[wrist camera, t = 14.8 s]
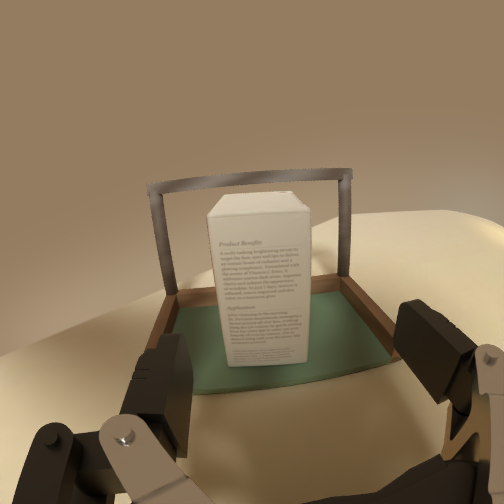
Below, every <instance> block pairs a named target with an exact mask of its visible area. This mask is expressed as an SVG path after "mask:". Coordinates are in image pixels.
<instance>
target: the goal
mask: <svg viewBox="0 0 504 504" xmlns="http://www.w3.org/2000/svg"><path fill="white" fill-rule="evenodd" d="M351 179H353V176H352V169H351V168H324V169H322V168H320V169H290V170H272V171H257V172H243V173H232V174H221V175H212V176H203V177H194V178H186V179H178V180H171V181H164V182H157V183H151V184H147V185H146V186H147V194H148V196H149V199H150V206H151V213H152V220H153V227H154V233H155V239H156V245H157V250H158V255H159V261H160V266H161V271H162V276H163V281H164V286H165V290H166V297H165V300H164V302H163V305H162V307H161V310H160V312H159V315H158V317H157V320H156V322H155V325H154V327H153V330H152V332H151V335H150V338H149V340H148V343H147V346H146V348H145V351H146V350H147V349H150V348H156V346H157V343H158V340H159V337H160V335H161V334H169V333H183V335H184V337H185V341H186V345H187V349H188V353H189V357H190V360H191V364H192V368H193V377H194V383H193V393H192V394H215V393H230V392H241V391H252V390H261V389H269V388H276V387H283V386H290V385H296V384H302V383H308V382H314V381H319V380H324V379H329V378H334V377H338V376H343V375H347V374H351V373H355V372H359V371H363V370H367V369H371V368H375V367H378V366H382V365H385V364H389V363H392V362H395V361H399V360H401V359H402V357H401V356H400V355H399V354H398V352H397V351H396V349H395V347H394V344H393V334H394V330H395V324H394V322H393V321H392V320H391V319H390V318H389V317H388V316H387V315H386V314H385V313H384V312H383V311H382V309H381V308H380V307H379V306H378V305H377V304H376V303H375V302H374V301H373V300H372V299H371V298H370V297H369V296H368V295H367V294H366V293H365V292H364V291H363V289H362V288H361V287H360V286H359V285H358V284H357V283H356V282H355V281H354V280H353V279H352V278H351V277H350V276H349V265H350V244H351ZM310 180H311V181H312V180H338V190H339V191H338V192H339V240H338V271H337V273H336V274H328V275H320V276H312V277H311V300H310V324H309V344H308V360H307V362H306V363H299V364H286V365H269V366H246V367H229V366H228V364H227V358H226V351H225V345H224V339H223V334H222V328H221V322H220V315H219V308H218V300H217V293H216V288H215V287H207V288H195V289H183V290H178V288H177V283H176V278H175V273H174V267H173V262H172V256H171V250H170V244H169V238H168V232H167V225H166V218H165V211H164V204H163V195H162V194H165V193H171V192H180V191H188V190H196V189H205V188H214V187H225V186H234V185H247V184H260V183H274V182H288V181H289V182H291V181H310ZM145 351H144V352H145Z"/></svg>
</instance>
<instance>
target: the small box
mask: <svg viewBox="0 0 504 504" xmlns="http://www.w3.org/2000/svg"><path fill="white" fill-rule="evenodd" d="M206 219H207V228H208V236H209V244H210V252H211V260H212V267H213V275H214V281H215V288H216V293H217V300H218V308H219V315H220V322H221V328H222V334H223V339H224V345H225V351H226V358H227V364H228V366H229V367H246V366H269V365H286V364H299V363H306V362H307V360H308V344H309V324H310V300H311V244H312V238H311V210H310V209H309V208H308V207H307V206H305V205H304V204H303V203H302V202H301V201H300V200H299V199H298V198H297V197H296V196H295V195H294V193H293V191H277V192H259V193H243V194H242V193H241V194H229V195H223V197H222V198H221V199H220V201H219V202H218V203H217V204H216V205H215V206H214V208H213V209H212V210H211V211H210V212H209V213H208V214H207V216H206Z"/></svg>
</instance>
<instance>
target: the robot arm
mask: <svg viewBox="0 0 504 504" xmlns="http://www.w3.org/2000/svg"><path fill="white" fill-rule="evenodd" d="M393 344H394V347H395V349H396V351H397V352H398V354H399V355H400V356H401V357H402V359H403V360H404V361H405V362H406V364H407V365H408V366H409V368H410V369H411V370H412V371H413V373H414V374H415V375H416V377H417V378H418V379H419V381H420V382H421V383H422V385H423V386H424V387H425V389H426V390H427V391H428V393H429V394H430V395H431V397H432V398H433V399H434V401H435V402H436V403H437V405H438V404H440V403H442V402H444V401H446V400H448V399H449V400H450V401H451V402H450V404H449V406H448V409H447V421H446V431H445V439H444V446H443V450H442V452H441V454H438V455H436V456H435V457H433V458H431V459H429V460H427V461H425V462H423V463H421V464H419V465H417V466H415V467H413V468H411V469H409V470H408V471H406V472H405V473H404V474H402V475H401V476H400V477H398V478H397V479H395V480H394V481H393V482H391V483H390V484H388V485H387V486H385V487H384V488H382V489H381V490H379V491H377V492H375V493H369V494H361V495H351V496H339V497H329V498H325V499H321V500H317V501H312V502H307V503H302V504H504V352H503V351H502V350H501V349H500V348H498V347H496V346H494V345H490V344H484V345H481V346H479V347H478V346H477V345H476V344H475V343H474V342H473V341H472V340H471V339H470V338H468V337H467V336H466V335H465V334H464V333H463V332H462V331H461V330H460V329H458V328H456V326H455V325H454V324H453V323H452V322H449V320H448V319H447V318H446V317H445V316H443V315H442V314H441V313H439V312H437V311H435V310H432V309H431V308H430V307H429V306H427V305H426V304H425V303H424V302H423V301H421V300H420V299H416V300H412V301H408V302H403V303H402V304H401V305H400V307H399V311H398V316H397V321H396V325H395V330H394V334H393ZM193 383H194V377H193V368H192V364H191V360H190V357H189V353H188V349H187V345H186V341H185V337H184V335H183V333H169V334H161V335H160V337H159V340H158V343H157V346H156V348H150V349H147V350H146V351H145V352H144V353H143V354H142V355H141V356H140V357H139V359H138V361H137V364H136V367H135V371H134V372H133V375H132V380H131V381H130V384H129V387H128V390H127V392H126V395H125V398H124V401H123V404H122V407H121V410H120V413H119V415H117V416H114V417H112V418H110V419H108V420H107V421H106V422H105V423H104V424H103V425H102V427H101V429H100V431H95V432H88V433H79V434H73V433H72V431H71V430H70V429H69V428H68V427H67V426H66V425H64V424H62V423H57V422H55V423H49V424H46V425H44V426H43V427H41V428H40V429H39V430H38V432H37V433H36V435H35V437H34V439H33V442H32V444H31V447H30V450H29V452H28V455H27V458H26V460H25V463H24V466H23V469H22V472H21V475H20V478H19V481H18V484H17V488H16V491H15V494H14V498H13V502H12V504H114V501H115V494H118V493H128V495H129V497H130V498H131V500H132V503H131V504H214V503H213V502H212V501H211V500H210V499H209V498H208V497H207V495H206V494H205V493H204V492H203V491H202V490H201V489H200V488H199V487H198V486H197V485H196V484H195V483H194V482H193V481H192V480H191V479H190V478H189V477H188V476H186V475H185V474H184V473H183V471H182V470H181V469H180V468H179V467H178V466H177V464H176V458H187V450H188V437H189V425H190V413H191V403H192V393H193Z"/></svg>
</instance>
